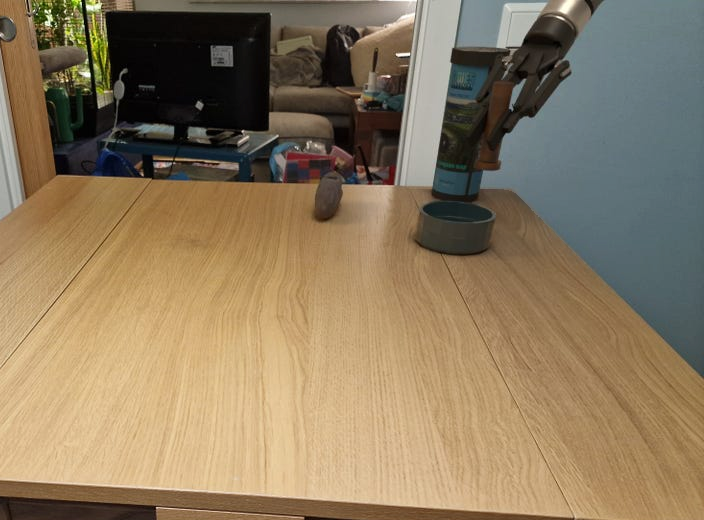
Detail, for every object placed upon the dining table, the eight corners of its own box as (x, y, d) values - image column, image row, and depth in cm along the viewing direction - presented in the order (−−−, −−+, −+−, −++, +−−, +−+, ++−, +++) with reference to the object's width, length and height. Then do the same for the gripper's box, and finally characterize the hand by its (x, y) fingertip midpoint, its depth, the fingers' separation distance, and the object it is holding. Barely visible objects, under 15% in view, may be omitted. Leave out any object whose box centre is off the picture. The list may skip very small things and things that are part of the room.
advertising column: (482, 192, 151) (512, 48, 136) (477, 205, 142) (508, 52, 127) (432, 186, 155) (455, 45, 140) (424, 199, 146) (448, 50, 131)
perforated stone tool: (332, 225, 131) (335, 190, 127) (306, 222, 132) (308, 188, 129) (344, 203, 143) (347, 171, 140) (320, 201, 145) (322, 169, 141)
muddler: (505, 169, 116) (524, 83, 109) (486, 172, 114) (504, 84, 107) (487, 163, 119) (503, 79, 112) (468, 166, 118) (484, 81, 110)
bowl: (504, 249, 120) (512, 216, 117) (448, 260, 115) (455, 227, 112) (453, 227, 130) (459, 197, 127) (399, 237, 125) (404, 206, 122)
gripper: (606, 51, 110) (528, 166, 110) (516, 43, 121) (445, 149, 121) (600, 16, 105) (518, 138, 104) (506, 11, 116) (432, 122, 115)
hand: (479, 143), depth 112 cm, fingers closed on muddler, 3 cm apart
